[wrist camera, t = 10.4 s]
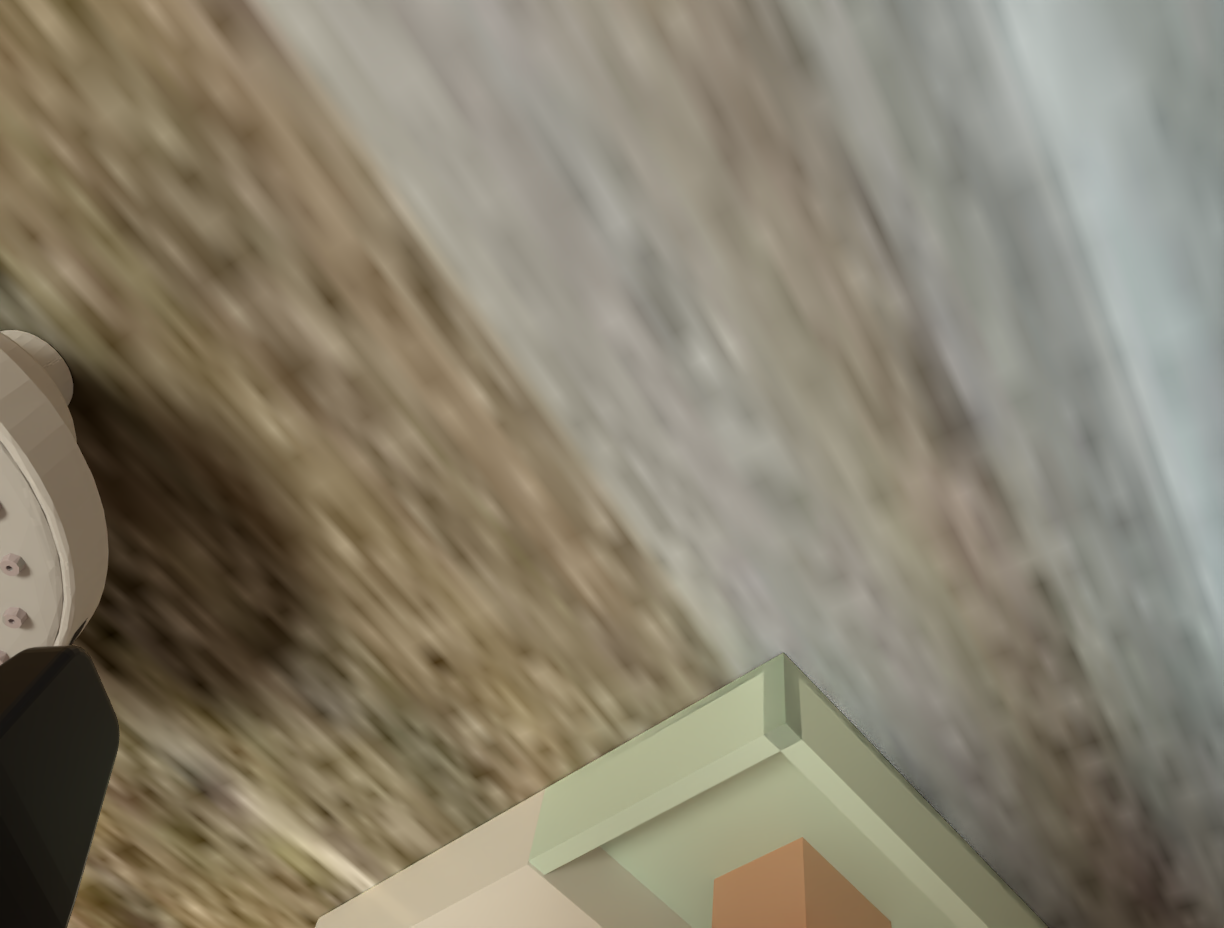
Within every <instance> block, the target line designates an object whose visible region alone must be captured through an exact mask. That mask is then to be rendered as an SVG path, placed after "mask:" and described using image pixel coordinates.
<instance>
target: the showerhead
mask: <svg viewBox="0 0 1224 928" xmlns="http://www.w3.org/2000/svg"><path fill="white" fill-rule="evenodd" d="M72 395H73V381H72V376H71V374H70V371H69V368H68V366H67V365H66V363H65V361H64V360H63V358H62V357H61V356H60V355H59V354H58V352H57V351H56V350H55V349H54V348H52V347H51V346H50V345H49V344H48V343H46V342H45V341H43V340H42V339H40V338H38V337H37V336H35V335H32V334H30V333H27V332H23V331H18V330H5V331H1V332H0V665H1V664H3V663H4V662H6V661H7V660H9V659H10V658H11V657H13V656H14V655H16V654H17V653H19V652H21V651H23V650H25V649H28V648H33V647H44V646H67V645H72V643H73V642H74V641H75V640H76V638H77V637H78V636H79V635H80V634H81V632H82V631H83V629H84V628H85V626H86V625H87V623H88V622H89V620H90V619H91V617H92V615H93V614H94V612H95V610H96V608H97V606H98V604H99V602H100V599H101V596H102V593H103V590H104V587H105V581H106V576H107V570H108V555H109V549H108V534H107V527H106V520H105V514H104V509H103V506H102V502H101V499H100V496H99V493H98V490H97V487H96V484H95V481H94V478H93V476H92V473H91V471H90V469H89V467H88V465H87V463H86V461H85V459H84V457H83V455H82V453H81V451H80V449H79V447H78V445H77V439H76V433H75V428H74V423H73V419H72V416H71V414H70V411H69V409H68V405H69V403H70V401H71V399H72Z"/></svg>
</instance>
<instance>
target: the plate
mask: <svg viewBox="0 0 1224 928" xmlns="http://www.w3.org/2000/svg"><path fill="white" fill-rule="evenodd" d="M544 792H545V789H544V790H542V791H540V792H539V793H537V794H535V795H533V796H532V797H530V798H528V799H526V800H525V801H523V802H521V803H519V804H518V805H516V806H514V807H512V808H511V809H509V810H507V811H505V812H504V813H502V814H500V815H498V816H497V817H495V818H493V819H491V820H490V821H488V822H486V823H484V824H483V825H481V826H479V827H477V828H476V829H474V830H472V831H470V832H469V833H467V834H465V835H463V836H462V837H460V838H458V839H456V840H455V841H453V842H451V843H449V844H448V845H446V846H444V847H442V848H441V849H439V850H437V851H435V852H434V853H432V854H430V855H428V856H427V857H425V858H423V859H422V860H420V861H418V862H416V863H415V864H413V865H411V866H409V867H408V868H406V869H404V870H402V871H401V872H399V873H397V874H395V875H394V876H392V877H390V878H388V879H387V880H385V881H383V882H381V883H380V884H378V885H376V886H374V887H373V888H371V889H369V890H367V891H366V892H364V893H362V894H360V895H359V896H357V897H355V898H353V899H352V900H350V901H348V902H346V903H345V904H343V905H341V906H339V907H338V908H336V909H334V910H332V911H331V912H329V913H327V914H325V915H324V916H322V917H320V918H319V919H318V922H317V924H316V926H315V928H692V927H691V926H690V925H689V924H688V923H687V922H686V921H684V920H683V919H682V918H681V917H680V916H679V915H678V914H676V913H675V912H674V911H673V910H672V909H671V908H670V907H668V906H667V905H666V904H665V903H664V902H663V901H662V900H660V899H659V898H658V897H657V896H656V895H655V894H654V893H652V892H651V891H650V890H649V889H648V888H647V887H646V886H644V885H643V884H642V883H641V882H640V881H639V880H638V879H636V878H635V877H634V876H633V875H632V874H631V873H630V872H628V871H627V870H626V869H625V868H624V867H623V866H622V865H620V864H619V863H618V862H617V861H616V860H615V859H614V858H612V857H611V856H610V855H609V854H608V853H607V852H605V851H604V850H603V849H602V848H601V847H600V846H598V847H596V848H595V849H593V850H591V851H589V852H587V853H585V854H583V855H581V856H579V857H577V858H575V859H574V860H572V861H570V862H568V863H566V864H564V865H562V866H560V867H558V868H556V869H554V870H553V871H551V872H549V873H547V874H545V875H544V874H543V873H542V872H541V871H539V870H538V869H537V868H536V867H535V866H534V865H532V864H531V863H530V862H529V861H528V860H529V856H530V851H531V847H532V843H533V839H534V835H535V830H536V826H537V822H538V818H539V813H540V809H541V805H542V801H543V796H544Z"/></svg>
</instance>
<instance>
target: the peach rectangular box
mask: <svg viewBox="0 0 1224 928" xmlns="http://www.w3.org/2000/svg"><path fill="white" fill-rule="evenodd" d="M712 928H892V926H891V921H890V920H889V919H888V918H887V917H885V916H884V915H883V914H882V913H881V912H880V911H879V910H878V909H877V908H876V907H875V906H874V905H873V904H872V903H871V902H870V901H869V900H868V899H867V898H866V897H865V896H864V895H863V894H861V893H860V892H859V891H858V890H857V889H856V888H855V887H854V886H853V885H852V884H851V883H850V882H849V881H848V880H847V879H846V878H845V877H844V876H843V875H842V874H841V873H840V872H839V871H837V870H836V869H835V868H834V867H833V866H832V865H831V864H830V863H829V862H828V861H827V860H826V859H825V858H824V857H823V856H822V855H821V854H820V853H819V852H818V851H817V850H816V849H815V848H813V847H812V846H811V845H810V844H809V843H808V842H807V841H806V840H805V839H804V838H803V837H801V838H799V839H797V840H795V841H793V842H791V843H789V844H787V845H785V846H783V847H780V848H778V849H776V850H774V851H772V852H770V853H768V854H766V855H764V856H762V857H760V858H757V859H755V860H753V861H751V862H749V863H747V864H745V865H743V866H741V867H739V868H737V869H735V870H732V871H730V872H728V873H726V874H724V875H722V876H720V877H718V878H716V879H714V889H713V910H712Z"/></svg>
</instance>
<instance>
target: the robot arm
mask: <svg viewBox="0 0 1224 928" xmlns="http://www.w3.org/2000/svg"><path fill="white" fill-rule="evenodd" d="M118 746H119V725H118V720H117V717H116V714H115V712H114V709H113V707H112V705H111V702H110V700H109V698H108V696H107V693H106V691H105V689H104V686H103V684H102V682H101V679H100V677H99V675H98V673H97V670H96V668H95V666H94V663H93V661H92V659H91V657H90V656H89V654H88V653H87V652H86V651H85V650H84V649H82V648H81V647H77V646H73V645H67V646H44V647H33V648H28V649H25V650H23V651H21V652H19V653H17V654H16V655H14V656H13V657H11V658H10V659H9V660H7V661H6V662H4V663H3V664H1V665H0V928H67V926H68V922H69V919H70V916H71V913H72V910H73V907H74V903H75V900H76V897H77V893H78V890H79V886H80V882H81V879H82V875H83V872H84V868H85V865H86V861H87V858H88V854H89V851H90V847H91V843H92V840H93V836H94V833H95V829H96V826H97V822H98V819H99V815H100V811H101V808H102V804H103V801H104V797H105V794H106V790H107V787H108V783H109V780H110V776H111V772H112V769H113V765H114V762H115V758H116V755H117V751H118Z"/></svg>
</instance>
